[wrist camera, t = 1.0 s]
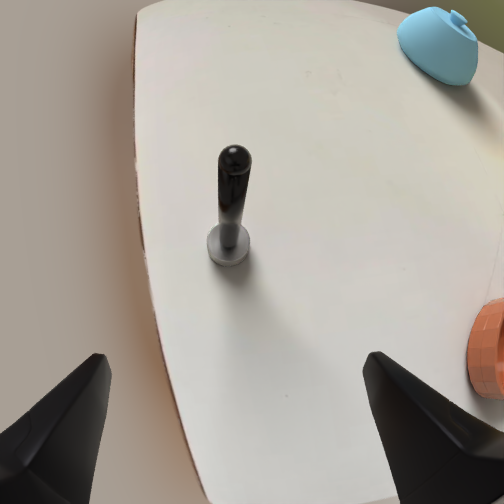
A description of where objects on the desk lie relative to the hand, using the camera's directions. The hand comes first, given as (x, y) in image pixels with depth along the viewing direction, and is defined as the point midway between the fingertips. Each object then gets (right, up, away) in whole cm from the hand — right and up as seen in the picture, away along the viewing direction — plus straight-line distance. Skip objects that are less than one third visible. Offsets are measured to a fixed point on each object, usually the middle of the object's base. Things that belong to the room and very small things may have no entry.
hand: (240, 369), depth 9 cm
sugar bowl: (+31, +36, +27) cm, 55 cm away
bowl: (+27, -7, +14) cm, 31 cm away
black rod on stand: (-2, +4, +15) cm, 15 cm away
